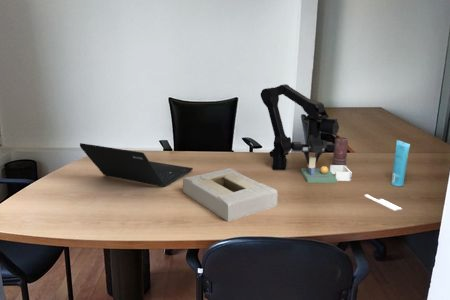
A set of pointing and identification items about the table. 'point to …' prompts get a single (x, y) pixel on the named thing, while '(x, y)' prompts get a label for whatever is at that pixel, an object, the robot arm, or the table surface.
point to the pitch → (318, 176)
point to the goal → (341, 172)
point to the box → (230, 193)
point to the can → (340, 151)
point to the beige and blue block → (311, 164)
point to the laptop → (132, 165)
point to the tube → (400, 163)
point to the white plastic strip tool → (384, 203)
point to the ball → (323, 169)
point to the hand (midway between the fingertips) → (311, 164)
